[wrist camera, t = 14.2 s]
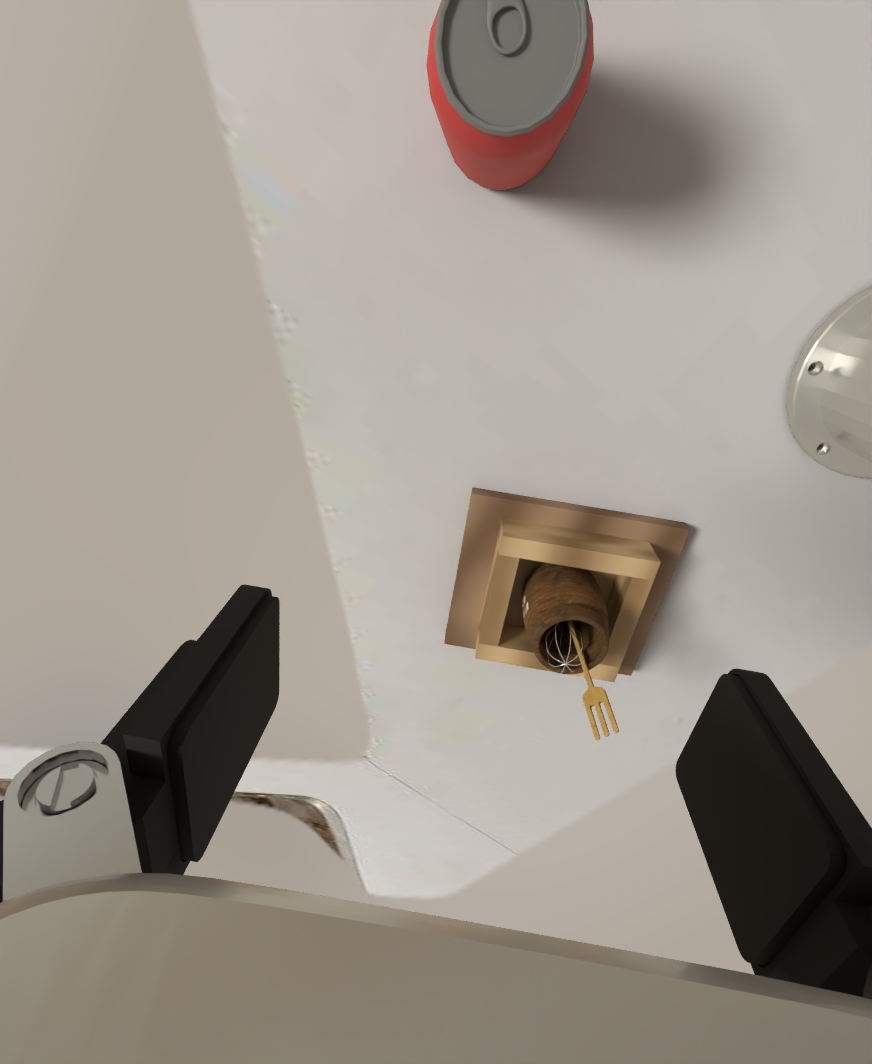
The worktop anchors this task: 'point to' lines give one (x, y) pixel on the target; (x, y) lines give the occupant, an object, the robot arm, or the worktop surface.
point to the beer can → (508, 82)
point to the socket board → (564, 539)
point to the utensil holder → (569, 628)
